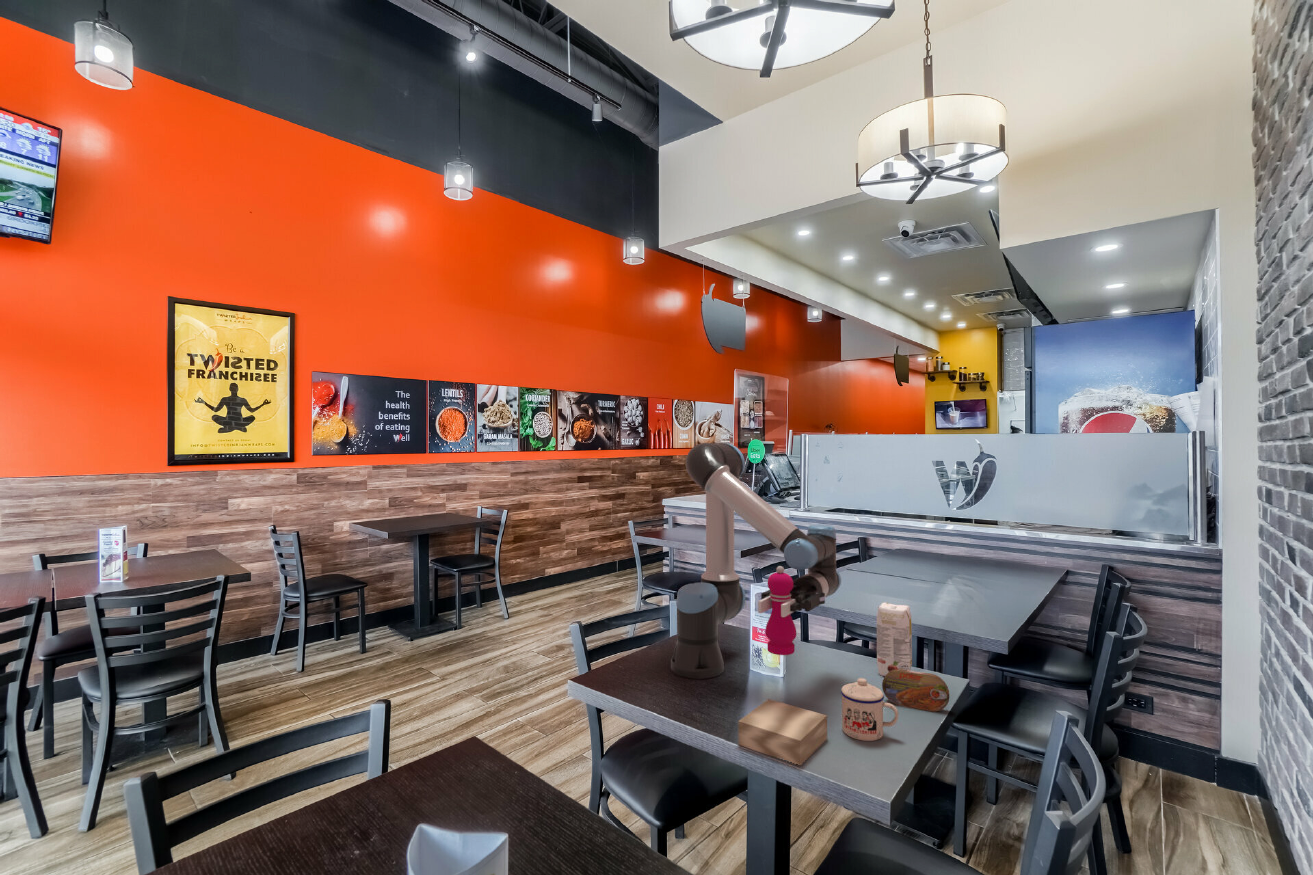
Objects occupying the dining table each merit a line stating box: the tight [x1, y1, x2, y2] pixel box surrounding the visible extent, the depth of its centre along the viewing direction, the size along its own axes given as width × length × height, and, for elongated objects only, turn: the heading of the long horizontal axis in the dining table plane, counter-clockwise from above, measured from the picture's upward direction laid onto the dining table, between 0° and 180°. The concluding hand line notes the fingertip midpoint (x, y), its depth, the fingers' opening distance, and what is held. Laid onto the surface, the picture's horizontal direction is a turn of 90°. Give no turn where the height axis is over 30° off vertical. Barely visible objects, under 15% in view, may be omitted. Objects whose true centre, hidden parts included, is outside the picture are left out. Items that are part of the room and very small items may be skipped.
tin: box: [881, 669, 950, 712], centre depth 146 cm, size 15×3×8 cm, turn 62°
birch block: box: [737, 699, 828, 766], centre depth 128 cm, size 14×14×5 cm
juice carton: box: [876, 602, 913, 677], centre depth 166 cm, size 8×9×19 cm
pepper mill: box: [765, 565, 797, 656], centre depth 141 cm, size 7×7×20 cm
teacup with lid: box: [840, 677, 899, 742], centre depth 132 cm, size 12×9×12 cm
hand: (771, 608), depth 137 cm, fingers closed on pepper mill, 5 cm apart
